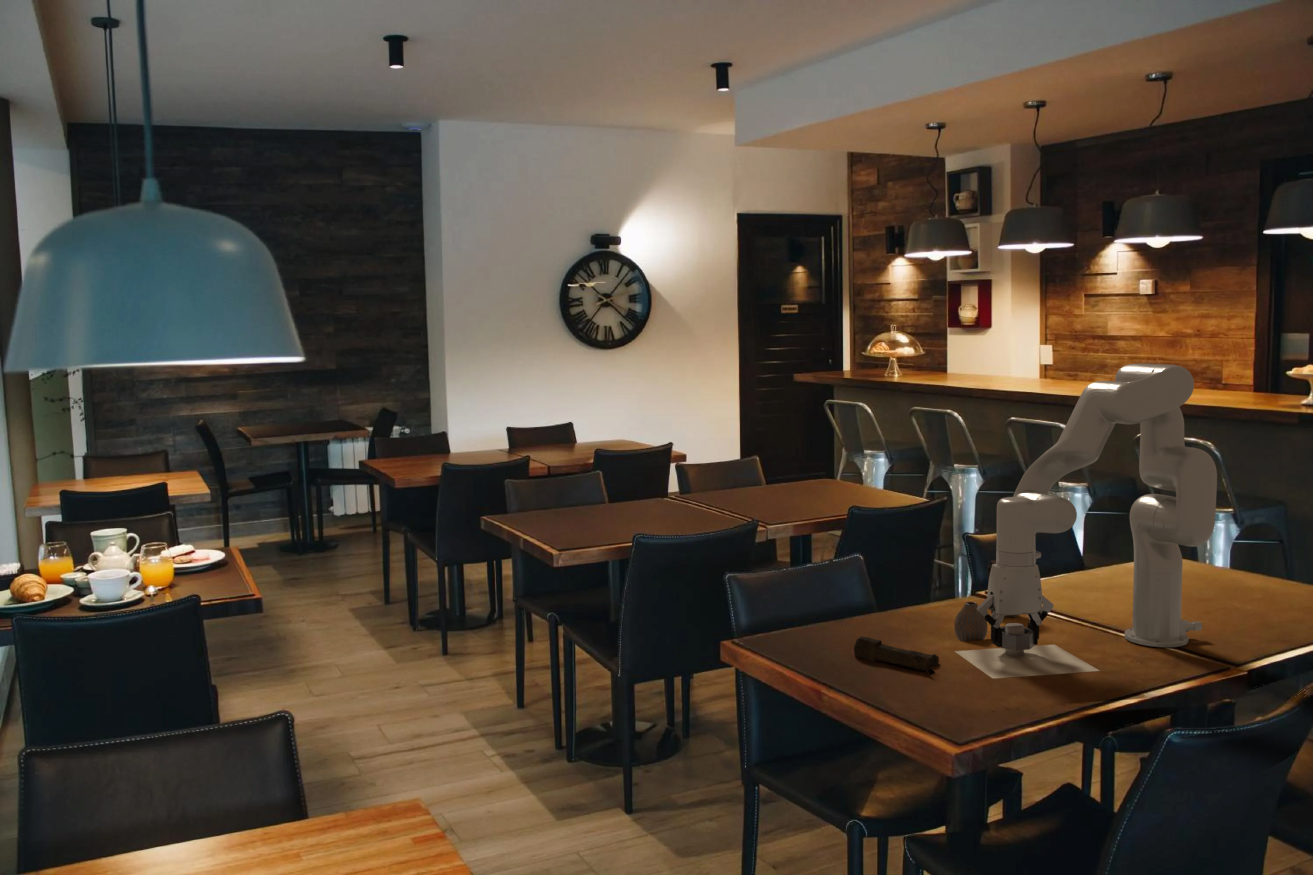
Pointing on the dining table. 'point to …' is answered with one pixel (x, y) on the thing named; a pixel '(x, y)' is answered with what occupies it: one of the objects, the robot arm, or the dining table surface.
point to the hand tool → (894, 655)
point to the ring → (1018, 639)
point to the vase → (970, 623)
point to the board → (1024, 659)
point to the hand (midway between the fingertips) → (1014, 643)
